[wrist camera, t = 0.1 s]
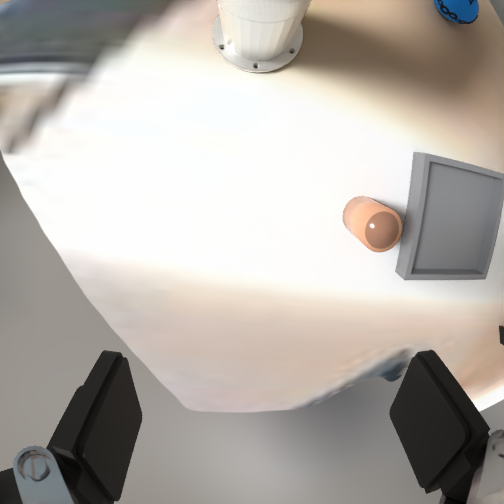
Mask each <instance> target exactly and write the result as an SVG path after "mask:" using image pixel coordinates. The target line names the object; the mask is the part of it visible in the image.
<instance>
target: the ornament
mask: <svg viewBox="0 0 504 504" xmlns="http://www.w3.org/2000/svg"><path fill="white" fill-rule="evenodd" d="M434 3H435V6H436V8H437V9H438V11H439V12H440V13H441V14H442V15H443V16H444V17H446V18H447V19H449V20H450V21H453V22H456V23H460V24H470V23H472V22H473V21H475V19H476V18H477V17H478V15H477V14H478V11H479V6H478V2H477V0H434Z"/></svg>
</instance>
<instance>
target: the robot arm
mask: <svg viewBox="0 0 504 504" xmlns="http://www.w3.org/2000/svg"><path fill="white" fill-rule="evenodd" d="M311 1H312V0H217V5H218V10H219V15H218V16H217V17H216V19H215V22H214V24H213V29H212V38H213V42H214V45H215V48H216V50H217V52H218V53H219V55H220V56H221V57H222V58H223V59H224V60H225V61H226V62H227V63H229V64H230V65H232V66H234V67H236V68H238V69H240V70H244V71H248V72H257V73H260V72H269V71H273V70H276V69H279V68H281V67H283V66H285V65H286V64H288V63H289V62H290V61H291V60H292V59H293V58H294V57H295V56H296V55H297V53H298V52H299V50H300V48H301V45H302V42H303V29H302V25H301V21H302V19H303V17H304V15H305V13H306V11H307V9H308V7H309V5H310V3H311ZM221 48H224V49H223V50H221ZM290 51H292V52H293V54H291V53H290ZM254 66H257V67H258V68H254ZM390 418H391V420H392V423H393V425H394V427H395V429H396V431H397V434H398V436H399V438H400V440H401V443H402V445H403V447H404V450H405V452H406V454H407V456H408V459H409V461H410V464H411V466H412V468H413V471H414V473H415V475H416V478H417V480H418V483H419V485H420V486H421V487H422V488H424V489H425V491H426V494H427V493H430V492H432V491H435V490H438V489H439V488H441V491H442V495H441V498H440V501H439V503H438V504H504V430H496V431H494V432H493V433H492V434H491V435H490V436H489V434H488V431H489V430H490V428H489V426H488V425H487V423H486V422H485V420H484V419H483V417H482V416H481V414H480V413H479V411H478V410H477V408H476V407H475V405H474V404H473V403H472V401H471V400H470V398H469V397H468V396H467V394H466V393H465V391H464V390H463V389H462V387H461V386H460V384H459V383H458V382H457V380H456V379H455V378H454V376H453V375H452V374H451V372H450V371H449V370H448V368H447V367H446V366H445V364H444V363H443V362H442V360H441V359H440V358H439V356H438V355H437V354H436V352H434V351H433V350H429V351H421V352H418V353H417V354H416V355H415V357H413V358H412V359H411V362H410V364H409V367H408V369H407V372H406V374H405V377H404V379H403V381H402V384H401V386H400V388H399V391H398V393H397V395H396V398H395V400H394V402H393V404H392V406H391V409H390ZM141 422H142V411H141V408H140V404H139V401H138V397H137V394H136V390H135V387H134V383H133V379H132V375H131V371H130V367H129V363H128V360H127V358H125V357H123V356H122V354H121V353H120V352H113V351H106V350H104V351H103V352H102V353H101V355H100V357H99V358H98V360H97V362H96V363H95V365H94V367H93V369H92V370H91V372H90V374H89V376H88V378H87V379H86V381H85V383H84V385H83V386H80V387H79V388H78V389H77V390H76V392H75V394H74V396H73V398H72V399H71V401H70V403H69V405H68V407H67V409H66V411H65V413H64V414H63V416H62V418H61V420H60V422H59V424H58V426H57V428H56V430H55V432H54V434H53V436H52V438H51V440H50V442H49V444H48V446H47V448H46V449H45V448H43V447H41V446H28V447H26V448H24V449H22V450H21V451H20V452H18V453H17V455H16V457H15V458H14V462H13V468H11V469H7V470H4V471H1V472H0V504H114V501H118V500H119V499H120V497H121V493H122V489H123V486H124V482H125V478H126V474H127V471H128V467H129V463H130V460H131V456H132V452H133V449H134V446H135V442H136V439H137V435H138V432H139V429H140V425H141Z"/></svg>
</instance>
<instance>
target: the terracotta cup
mask: <svg viewBox="0 0 504 504" xmlns="http://www.w3.org/2000/svg"><path fill="white" fill-rule="evenodd" d="M343 222H344V225H345V227H346V228H347V229H348V230H349V231H350V232H351V233H352V234H353V235H354V236H355V237H356V238H358V239H359V240H360V241H361V242H362V243H363V244H364V245H365V246H366V247H367V248H369V249H370V250H372V251H374V252H385V251H387V250H389V249H391V248H392V247H394V246H395V245H396V243H397V242H398V240H399V238H400V236H401V232H402V223H401V219H400V217H399V215H398V214H397V213H396V212H395V211H394V210H392V209H390V208H388V207H386V206H384V205H382V204H380V203H378V202H376V201H374V200H372V199H370V198H368V197H365V196H359V197H356V198H353V199H352V200H350V201H349V202H348V204H347V205H346V206H345V209H344V211H343Z"/></svg>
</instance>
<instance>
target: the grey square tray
mask: <svg viewBox="0 0 504 504" xmlns="http://www.w3.org/2000/svg"><path fill="white" fill-rule="evenodd" d="M503 200H504V174H502V173H499V172H495V171H492V170H489V169H485V168H482V167H478V166H475V165H471V164H467V163H464V162H460V161H456V160H452V159H448V158H444V157H440V156H435V155H431V154H426V153H419V152H413V163H412V173H411V182H410V190H409V198H408V205H407V211H406V218H405V224H404V230H403V235H402V241H401V246H400V251H399V256H398V261H397V266H396V270H395V272H396V273H398V274H399V275H400V276H401V277H402V278H403V279H404V280H477V279H486V276H487V272H488V269H489V265H490V261H491V258H492V254H493V250H494V246H495V241H496V237H497V232H498V228H499V223H500V217H501V212H502V206H503Z"/></svg>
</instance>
